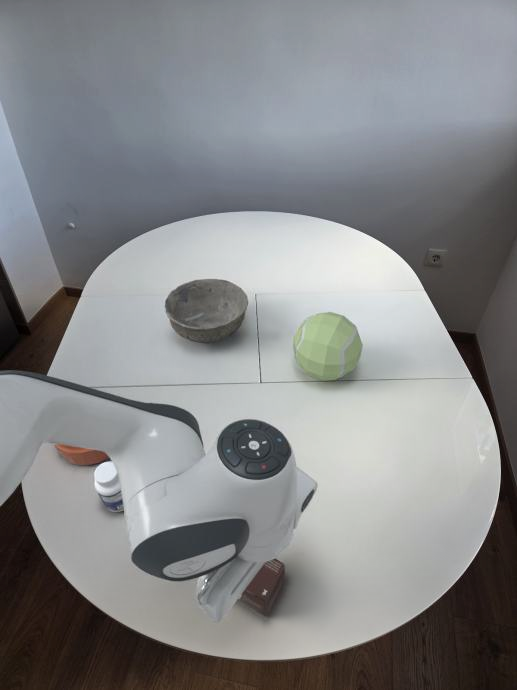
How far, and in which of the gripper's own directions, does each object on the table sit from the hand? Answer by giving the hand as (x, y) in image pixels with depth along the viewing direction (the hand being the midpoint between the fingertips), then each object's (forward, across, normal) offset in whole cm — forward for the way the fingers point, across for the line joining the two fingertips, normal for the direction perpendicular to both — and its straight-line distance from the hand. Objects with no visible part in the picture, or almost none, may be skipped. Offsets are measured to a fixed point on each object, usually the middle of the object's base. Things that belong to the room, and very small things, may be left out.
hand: (259, 562), depth 61 cm
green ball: (+11, +47, +18) cm, 51 cm away
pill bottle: (+11, -5, +30) cm, 32 cm away
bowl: (+11, +40, +49) cm, 64 cm away
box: (+11, 0, 0) cm, 11 cm away
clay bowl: (+10, +1, +45) cm, 46 cm away
